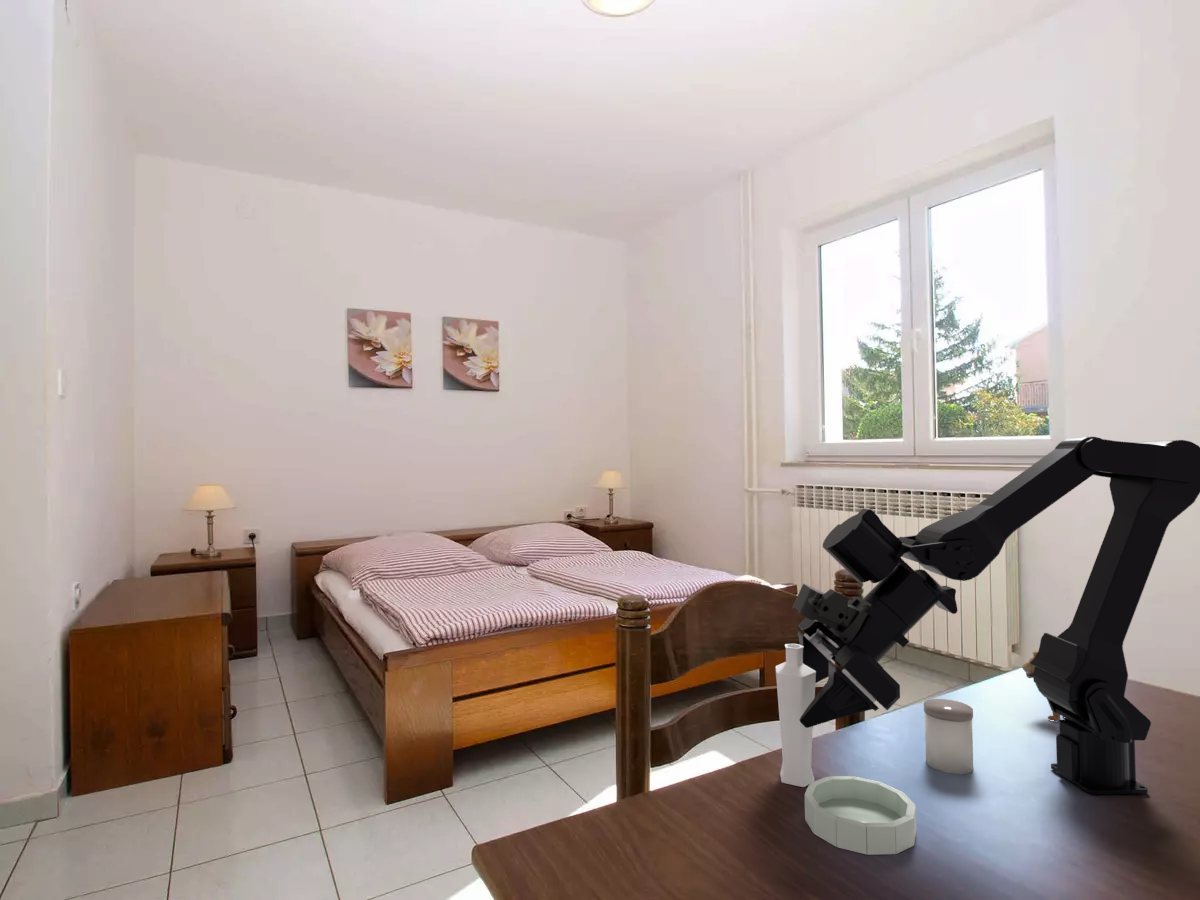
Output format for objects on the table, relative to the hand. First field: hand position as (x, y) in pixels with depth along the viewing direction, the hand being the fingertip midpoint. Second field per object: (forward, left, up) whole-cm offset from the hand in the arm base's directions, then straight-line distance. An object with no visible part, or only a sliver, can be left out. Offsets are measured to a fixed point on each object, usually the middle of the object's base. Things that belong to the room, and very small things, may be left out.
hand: (791, 708), depth 77 cm
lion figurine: (-42, -13, -8) cm, 44 cm away
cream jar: (-20, -3, -8) cm, 21 cm away
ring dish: (-4, +10, -8) cm, 13 cm away
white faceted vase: (-1, 0, -8) cm, 8 cm away
